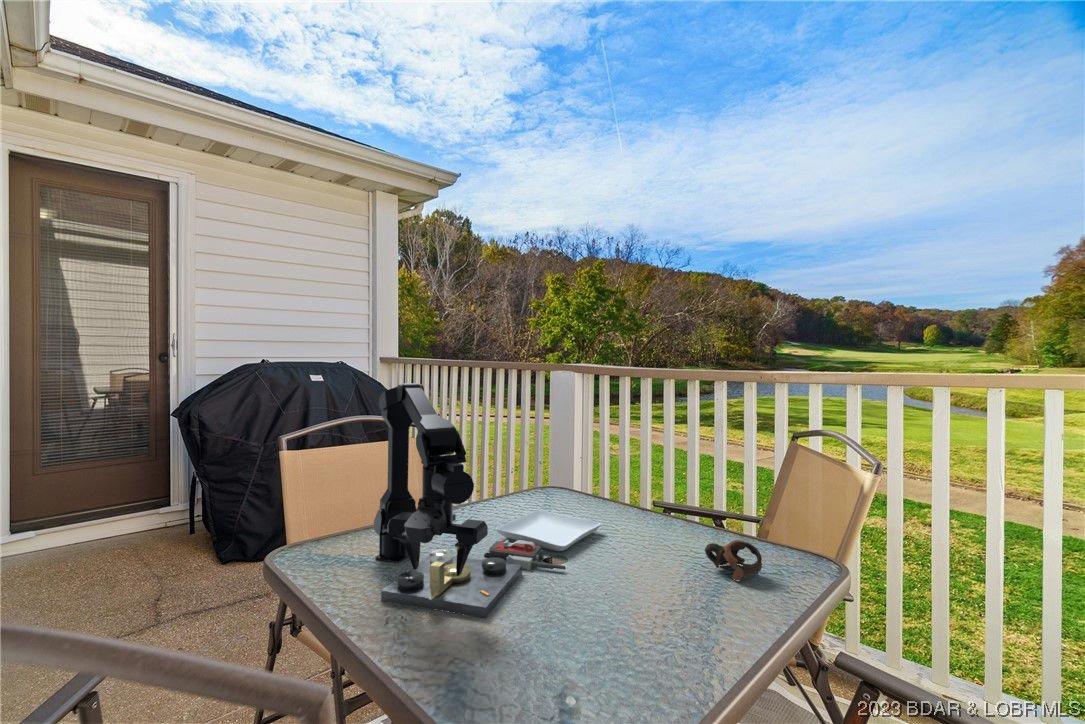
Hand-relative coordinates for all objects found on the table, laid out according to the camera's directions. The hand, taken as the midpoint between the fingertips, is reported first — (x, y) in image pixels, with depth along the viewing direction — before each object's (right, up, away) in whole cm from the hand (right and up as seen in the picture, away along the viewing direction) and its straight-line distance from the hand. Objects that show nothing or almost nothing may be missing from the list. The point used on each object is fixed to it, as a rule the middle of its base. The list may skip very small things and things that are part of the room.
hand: (437, 571), depth 99 cm
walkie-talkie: (+17, -7, +21) cm, 28 cm away
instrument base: (+2, -6, +8) cm, 10 cm away
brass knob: (+1, -4, +5) cm, 6 cm away
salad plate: (+22, -7, +38) cm, 45 cm away
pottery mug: (+63, -7, +16) cm, 65 cm away
